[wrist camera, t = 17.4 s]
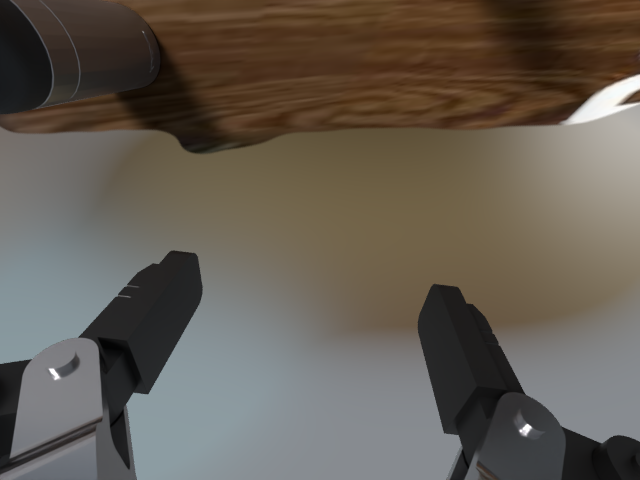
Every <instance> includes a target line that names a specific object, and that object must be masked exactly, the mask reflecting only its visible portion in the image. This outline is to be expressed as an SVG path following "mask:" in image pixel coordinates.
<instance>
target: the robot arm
mask: <svg viewBox="0 0 640 480" xmlns="http://www.w3.org/2000/svg"><path fill="white" fill-rule="evenodd" d="M159 69H160V52H159V48H158V44H157V41H156V39H155V37H154V34H153V33H152V31H151V29H150V28H149V26H148V25H147V24H146V22H145V21H144V20H143V19H142V18H141V17H140V16H139V15H138V14H137V13H136V12H134V11H133V10H131V9H129V8H128V7H126V6H123V5H121V4H118V3H113V2H107V1H102V0H0V114H11V113H18V112H23V111H28V110H32V109H37V108H42V107H47V106H52V105H57V104H61V103H66V102H72V101H77V100H82V99H87V98H92V97H97V96H102V95H107V94H112V93H117V92H122V91H128V90H133V89H138V88H143V87H145V86H148V85H149V84H150V83H152V82H153V81H154V79H155V78H156V77H157V75H158V72H159ZM201 297H202V282H201V274H200V268H199V262H198V257H197V255H196V254H195V253H189V252H180V251H170V252H169V253H168V254H167V255H166V257H165V258H164V259H163V260H162V261H161V262H160V264H152V265H150V266H148V267H146V268H145V269H143V270H141V271H140V272H138V273H137V274H136V275H135V276H134V277H133V278H132V280H131V281H130V282H129V283H128V284H127V287H124V288H123V289H122V290H121V292H120V293H119V294H118V297H115V298H114V299H113V300H112V301H111V302H110V304H109V305H108V306H107V307H106V308H105V309H104V310H103V311H102V312H101V313H100V314H99V316H98V317H97V318H96V319H95V320H94V321H93V322H92V323H91V324H90V325H89V327H88V328H87V329H86V330H85V331H84V332H83V333H82V334H81V335H80V336H79V337H78V338H72V339H67V340H63V341H61V342H58V343H56V344H54V345H51V346H50V347H48V348H46V349H44V350H43V351H42V352H40V353H39V354H38V355H37V356H35V357H34V358H33V359H31V360H24V361H18V362H11V363H4V364H0V480H137V478H136V473H135V466H134V459H133V450H132V442H131V434H130V427H129V419H128V411H127V406H126V403H127V402H128V400H129V399H130V397H131V395H132V394H133V393H141V394H149V392H150V390H151V388H152V387H153V385H154V383H155V381H156V380H157V378H158V376H159V374H160V372H161V371H162V369H163V367H164V365H165V364H166V362H167V360H168V358H169V357H170V355H171V353H172V351H173V350H174V348H175V346H176V344H177V342H178V341H179V339H180V337H181V335H182V334H183V332H184V330H185V328H186V327H187V325H188V323H189V321H190V319H191V318H192V316H193V314H194V312H195V311H196V309H197V307H198V305H199V303H200V300H201ZM418 333H419V337H420V341H421V345H422V349H423V353H424V356H425V361H426V365H427V368H428V372H429V376H430V380H431V384H432V388H433V392H434V396H435V400H436V403H437V407H438V411H439V415H440V419H441V423H442V427H443V431H444V433H446V434H454V435H459V437H460V441H461V444H462V446H461V447H460V449H459V451H458V453H457V455H456V458H455V461H454V463H453V465H452V467H451V470H450V472H449V474H448V477H447V479H446V480H640V442H639V441H637V440H635V439H632V438H630V437H626V436H620V435H617V436H613V437H611V438H609V439H608V440H607V441H605V442H604V443H602V444H601V443H599V442H597V441H594V440H592V439H590V438H587V437H585V436H582V435H580V434H578V433H575V432H573V431H570V430H568V429H566V428H564V427H562V426H560V424H559V422H558V421H557V419H556V418H555V417H554V415H553V414H552V413H551V412H550V411H549V410H548V409H547V408H546V407H545V406H543V405H542V404H541V403H539V402H538V401H537V400H535V399H533V398H531V397H529V396H527V395H526V394H525V393H524V391H523V389H522V387H521V385H520V383H519V381H518V379H517V377H516V375H515V373H514V372H513V370H512V368H511V366H510V364H509V362H508V360H507V358H506V356H505V354H504V352H503V350H502V349H501V347H500V346H499V345H498V341H497V339H496V337H495V335H494V334H492V329H491V327H490V325H489V323H488V322H487V320H486V318H485V316H483V314H482V313H481V312H480V311H479V310H478V309H477V308H476V307H475V306H474V305H473V304H466V302H465V299H464V297H463V295H462V293H461V291H460V289H459V288H458V287H454V286H446V285H439V284H433V286H432V287H431V288H430V290H429V293H428V295H427V298H426V300H425V303H424V305H423V307H422V310H421V312H420V315H419V319H418Z"/></svg>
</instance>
